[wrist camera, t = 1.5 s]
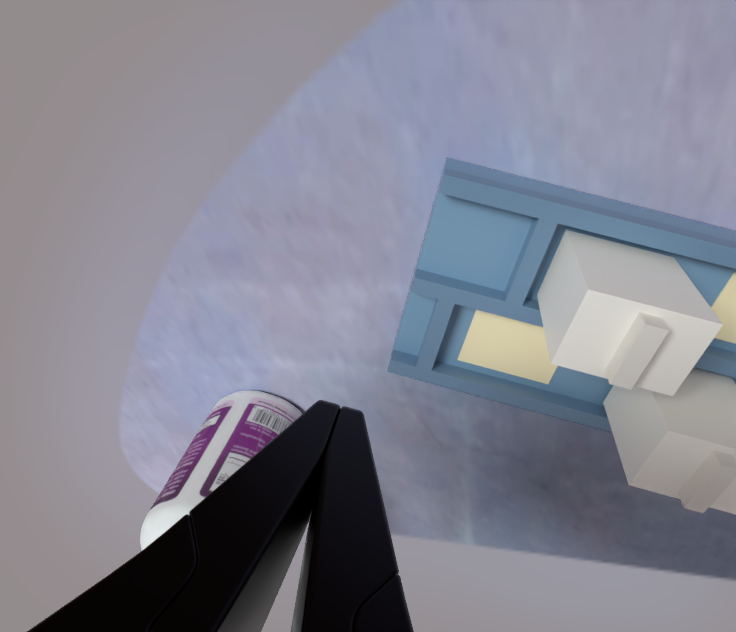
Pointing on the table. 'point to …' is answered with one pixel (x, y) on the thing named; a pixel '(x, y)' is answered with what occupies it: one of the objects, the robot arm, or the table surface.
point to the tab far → (679, 440)
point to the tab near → (623, 314)
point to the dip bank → (534, 288)
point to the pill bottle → (218, 454)
